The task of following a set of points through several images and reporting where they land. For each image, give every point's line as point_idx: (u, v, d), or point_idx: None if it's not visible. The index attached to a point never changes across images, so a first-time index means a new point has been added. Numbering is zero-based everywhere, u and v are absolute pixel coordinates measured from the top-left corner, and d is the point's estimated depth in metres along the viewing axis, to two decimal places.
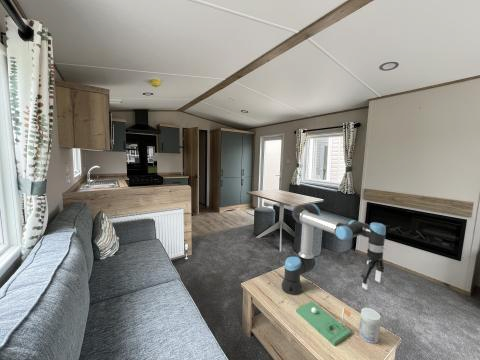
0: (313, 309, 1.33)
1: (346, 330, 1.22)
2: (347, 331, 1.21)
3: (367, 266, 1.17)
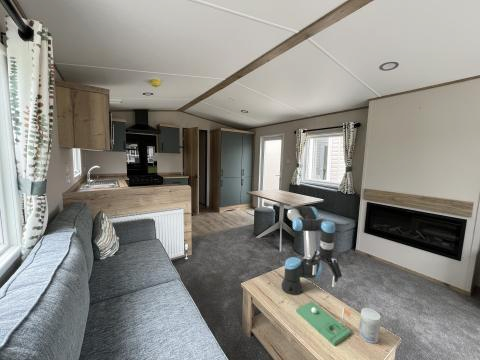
0: (313, 309, 1.33)
1: (346, 330, 1.22)
2: (347, 331, 1.21)
3: None
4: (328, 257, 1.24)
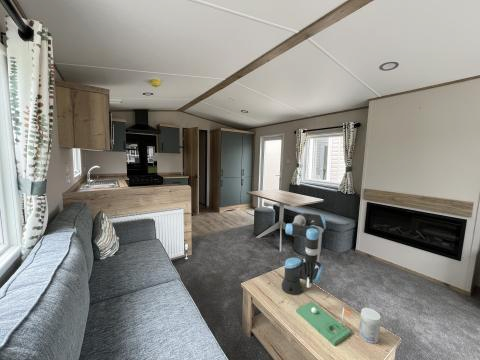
0: (313, 309, 1.33)
1: (346, 330, 1.22)
2: (347, 331, 1.21)
3: None
4: (313, 262, 1.32)
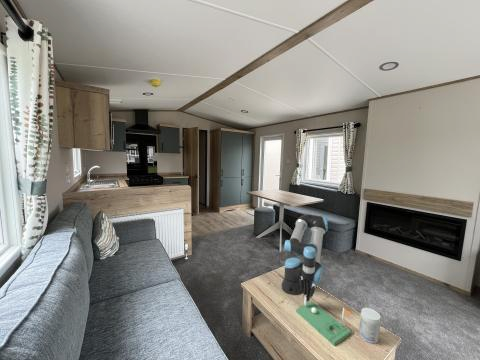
0: (313, 309, 1.33)
1: (346, 330, 1.22)
2: (347, 331, 1.21)
3: None
4: (310, 280, 1.34)
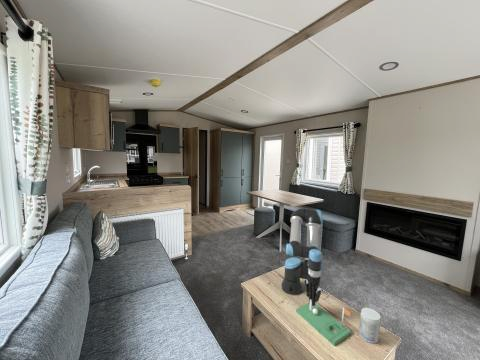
0: (315, 311, 1.32)
1: (346, 330, 1.22)
2: (347, 331, 1.21)
3: None
4: (316, 284, 1.30)
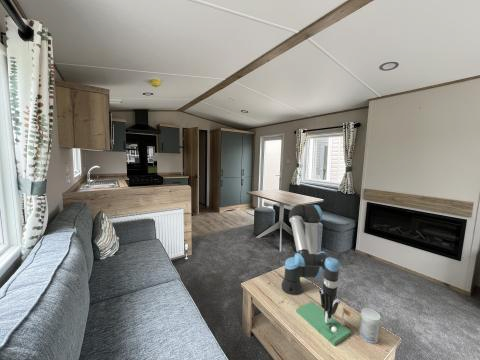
0: None
1: (346, 330, 1.22)
2: (347, 331, 1.21)
3: None
4: (333, 296, 1.20)
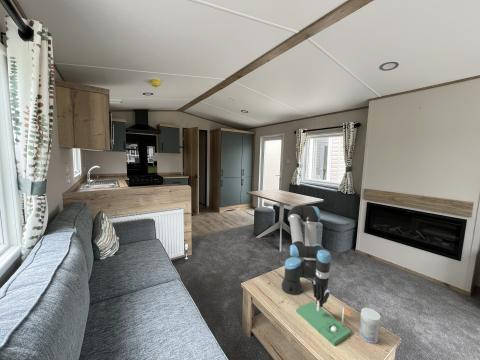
0: None
1: (346, 330, 1.22)
2: (347, 331, 1.21)
3: None
4: (324, 286, 1.26)
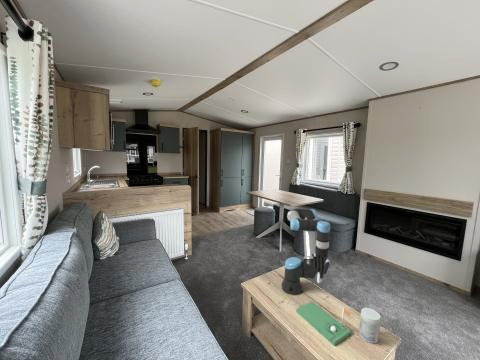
0: (333, 331, 1.21)
1: (346, 330, 1.22)
2: (347, 331, 1.21)
3: None
4: (324, 256, 1.28)
